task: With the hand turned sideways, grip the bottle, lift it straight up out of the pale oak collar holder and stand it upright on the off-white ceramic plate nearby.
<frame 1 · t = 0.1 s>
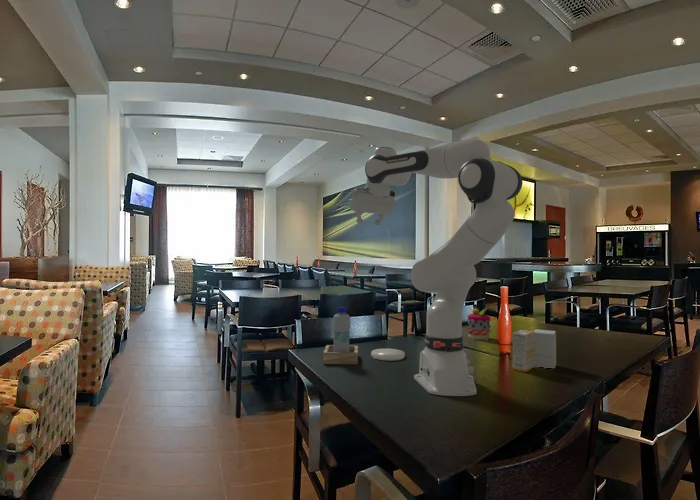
hand: (368, 223, 158), 52 cm above the table, tool tilted 20°, fingers open, 8 cm apart
collar holder: (341, 359, 152), on the table
ceramic plate: (387, 356, 157), on the table
supplement box 2: (544, 366, 146), on the table
bottle: (341, 360, 152), resting in collar holder
supplement box: (523, 369, 142), on the table
cake: (478, 338, 193), on the table
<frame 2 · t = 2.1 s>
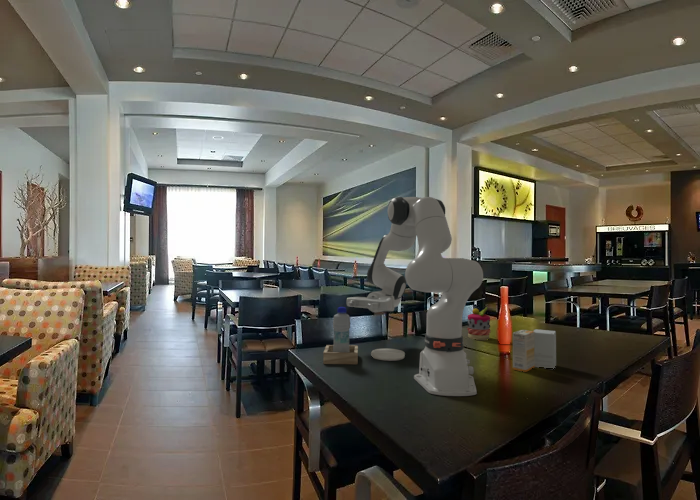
hand: (359, 305, 162), 19 cm above the table, tool horizontal, fingers open, 8 cm apart
nothing on the table moved.
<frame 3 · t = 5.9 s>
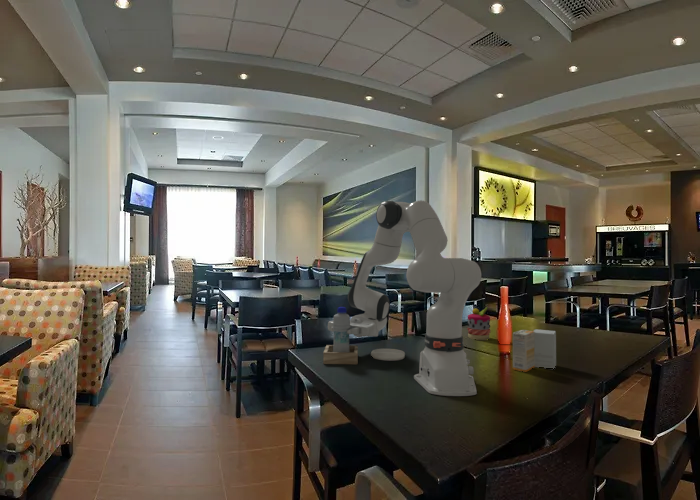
hand: (340, 330, 151), 11 cm above the table, tool horizontal, fingers closed on bottle, 6 cm apart
bottle: (341, 360, 152), resting in collar holder, touching gripper
everything else where it was.
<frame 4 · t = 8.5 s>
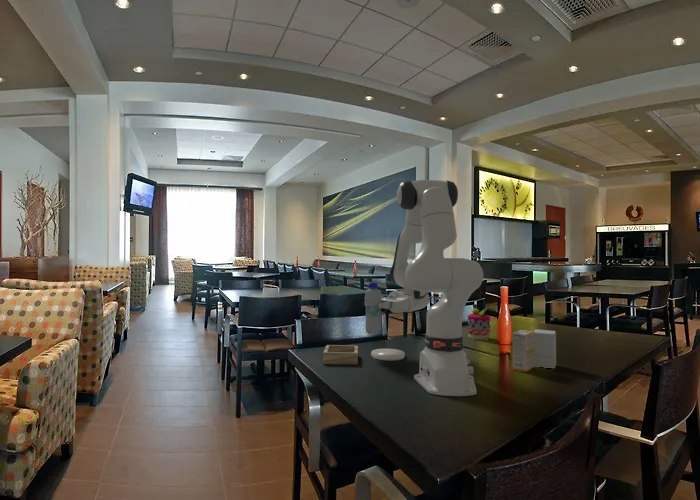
hand: (371, 304, 156), 20 cm above the table, tool horizontal, fingers closed on bottle, 6 cm apart
bottle: (373, 334, 157), point 9 cm above the table, touching gripper
everything else where it was.
when the fingers open (13 cm above the table, at t = 11.4 s): bottle stays where it is, resting on ceramic plate.
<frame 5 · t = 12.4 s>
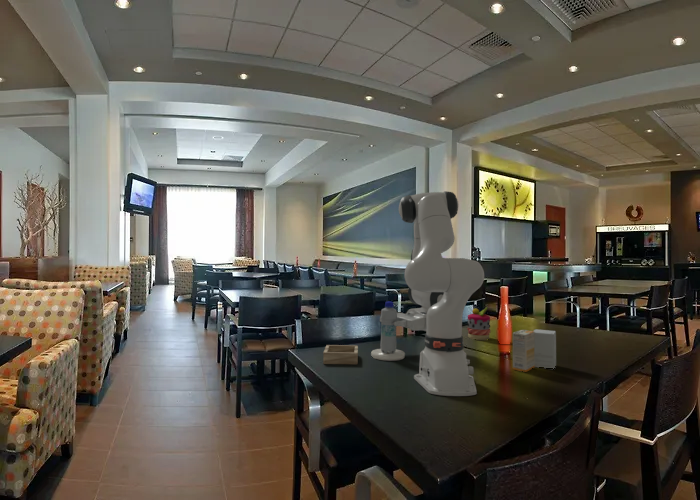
hand: (387, 321, 157), 14 cm above the table, tool horizontal, fingers open, 8 cm apart
bottle: (388, 352, 157), point 1 cm above the table, touching ceramic plate
everything else where it was.
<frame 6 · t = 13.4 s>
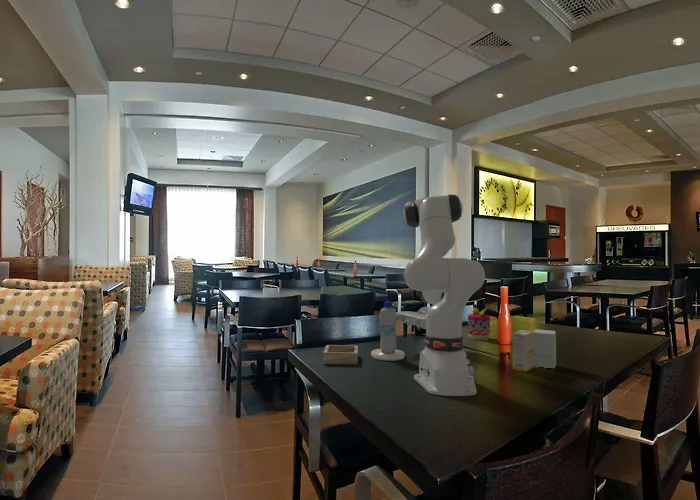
hand: (399, 320, 160), 14 cm above the table, tool horizontal, fingers open, 8 cm apart
nothing on the table moved.
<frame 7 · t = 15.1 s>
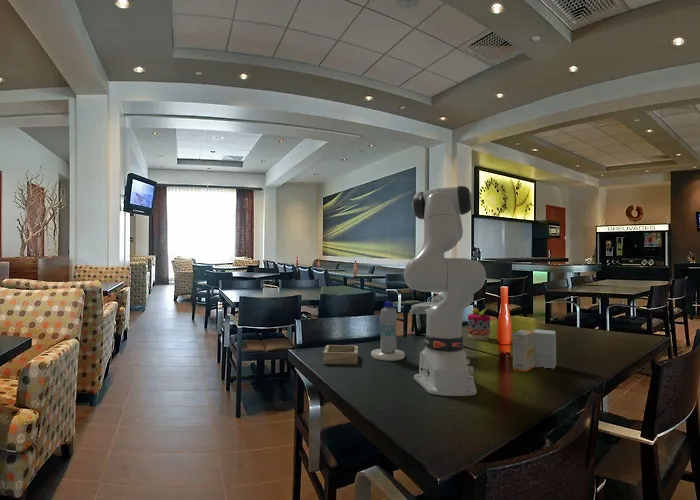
hand: (418, 312, 161), 17 cm above the table, tool horizontal, fingers open, 8 cm apart
nothing on the table moved.
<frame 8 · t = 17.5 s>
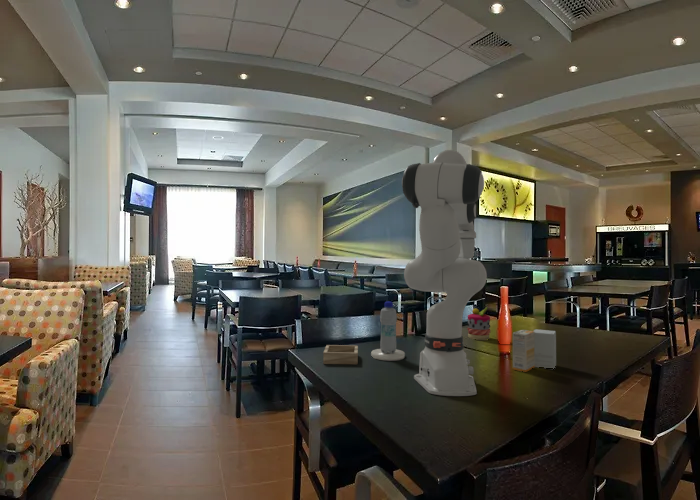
hand: (461, 270, 155), 34 cm above the table, tool pointing down, fingers open, 8 cm apart
nothing on the table moved.
at the end: bottle inside the target area on the ceramic plate (0.3 cm from its centre), point 1.3 cm above the ceramic plate's base; bottle tilted 0°; the gripper is holding nothing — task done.
